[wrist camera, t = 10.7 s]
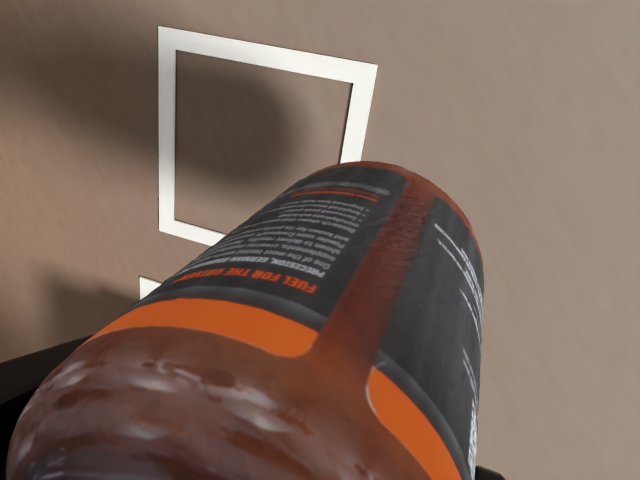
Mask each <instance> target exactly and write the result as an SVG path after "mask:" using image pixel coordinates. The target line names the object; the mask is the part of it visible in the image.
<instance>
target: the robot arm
mask: <svg viewBox="0 0 640 480" xmlns="http://www.w3.org/2000/svg"><path fill="white" fill-rule="evenodd" d="M94 335H95V334H93V335H90V336H87V337H84V338H80V339H77V340H74V341H71V342H67V343H64V344H61V345H58V346H54V347H51V348H48V349H45V350H41V351H38V352H35V353H31V354H28V355H25V356H22V357H18V358H15V359H12V360H9V361H5V362H2V363H0V480H6V463H7V456H8V450H9V443H10V440H11V437H12V435H13V432H14V429H15V426H16V424H17V421H18V419H19V417H20V415H21V413H22V411H23V409H24V408H25V406H26V405H27V403H28V402H29V401H30V399H31V398H32V396H33V394H34V393H35V391H36V390H37V389H38V388H39V386H40V385H41V383H42V382H43V381H44V379H45V378H46V377H47V376H48V375H49V374H50V373H51V372H52V371H53V370H54V369H55V368H56V367H57V366H58V365H59V364H61V363H62V362H63V361H64V360H65V359H66V358H68V357H69V356H70V355H71V354H72V353H73V352H74V351H75V350H76V349H77V348H78V347H79V346H81V345H82V344H83V343H84V342H86V341H87V340H88V339H90V338H91V337H92V336H94ZM475 480H505V478H504V477H503V476H502V475H501V474H499V473H497V472H494V471H492V470H489V469H486V468H484V467H481V466H475Z"/></svg>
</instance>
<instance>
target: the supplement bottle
mask: <svg viewBox="0 0 640 480" xmlns="http://www.w3.org/2000/svg"><path fill="white" fill-rule="evenodd" d="M483 294H484V274H483V263H482V256H481V252H480V249H479V246H478V241H477V238H476V235H475V233H474V232H473V229H472V227H471V225H470V223H469V221H468V219H467V218H466V216H465V215H464V213H463V212H462V211H461V209H460V208H459V207H458V206H457V204H456V203H455V202H454V201H453V200H452V199H451V198H450V197H449V196H448V195H447V194H446V193H445V192H443V191H442V190H441V189H440V188H438V187H437V186H436V185H434V184H433V183H432V182H430V181H429V180H427V179H425V178H423V177H422V176H420V175H418V174H416V173H414V172H412V171H410V170H408V169H405V168H403V167H400V166H397V165H392V164H387V163H381V162H371V161H354V162H346V163H341V164H336V165H333V166H329V167H326V168H323V169H321V170H318V171H316V172H314V173H312V174H311V175H309V176H307V177H306V178H304V179H302V180H300V181H298V182H297V183H295V184H294V185H292V186H291V187H289V188H288V189H287V190H286V191H285V192H283V193H282V194H281V195H279V196H278V197H277V198H275V199H274V200H273V201H271V202H270V203H268V204H267V205H266V206H264V207H263V208H262V209H261V210H259V211H258V212H257V213H255V214H254V215H253V216H251V217H250V218H249V219H248V220H247V221H245V222H244V223H242V224H241V225H239V226H238V227H237V228H236V229H234V230H233V231H231V232H230V233H229V234H228V235H226V236H224V237H223V238H222V239H221V240H220V241H218V242H217V243H216V244H214V245H213V246H211V247H210V248H209V249H207V250H206V251H204V252H203V253H202V254H201V255H199V256H198V257H197V258H196V259H195V260H193V261H191V262H190V263H189V264H188V265H186V266H185V267H184V268H183V269H181V270H180V271H179V272H177V273H176V274H175V275H174V276H172V277H170V278H168V279H167V280H165V281H164V282H163V283H162V284H161V285H160V286H159V287H157V288H156V289H154V290H153V291H152V292H150V293H149V294H148V295H147V296H145V297H144V298H142V299H141V300H139V301H138V302H136V303H134V304H133V305H132V306H131V307H130V308H128V309H127V310H126V311H125V312H124V313H123V314H121V315H120V316H119V317H118V318H117V319H116V320H114V321H113V322H112V323H110V324H109V325H108V326H106V327H105V328H103V329H102V330H100V331H99V332H98V333H96V334H95V335H94V336H92V337H91V338H90V339H88V340H87V341H86V342H84V343H83V344H82V345H81V346H79V347H78V348H77V349H76V350H75V351H74V352H73V353H72V354H71V355H70V356H69V357H68V358H66V359H65V360H64V361H63V362H62V363H61V364H59V365H58V366H57V367H56V368H55V369H54V370H53V371H52V372H51V373H50V374H49V375H48V376H47V377H46V378H45V379H44V381H43V382H42V383H41V385H40V386H39V388H38V389H37V390H36V391H35V393H34V394H33V396H32V398H31V399H30V401H29V402H28V403H27V405H26V406H25V408H24V409H23V411H22V413H21V415H20V417H19V419H18V421H17V424H16V426H15V429H14V432H13V435H12V437H11V440H10V443H9V450H8V456H7V463H6V480H475V464H476V445H477V425H478V405H479V387H480V360H481V359H480V358H481V342H482V320H483Z"/></svg>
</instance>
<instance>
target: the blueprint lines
mask: <svg viewBox="0 0 640 480" xmlns="http://www.w3.org/2000/svg"><path fill="white" fill-rule="evenodd" d="M158 50H159V231H162V232H165V233H169V234H172V235H175V236H179V237H182V238H186V239H189V240H192V241H196V242H199V243H203V244H206V245H209V246H213V245H214V244H216V243H217V242H218V241H220V240H221V239H222V238H223V237H224V236H226V234H223V233H219V232H216V231H212V230H209V229H205V228H202V227H198V226H195V225H191V224H188V223H184V222H181V221H177V220H174V180H175V90H176V50H181V51H186V52H192V53H197V54H202V55H207V56H213V57H218V58H223V59H229V60H234V61H239V62H244V63H250V64H255V65H260V66H265V67H271V68H276V69H281V70H287V71H292V72H297V73H302V74H308V75H313V76H318V77H324V78H329V79H334V80H339V81H345V82H350V83H353V89H352V95H351V102H350V108H349V114H348V120H347V126H346V132H345V138H344V144H343V150H342V156H341V162H340V164H341V163H346V162H354V161H360V160H361V155H362V149H363V144H364V139H365V133H366V128H367V122H368V117H369V111H370V106H371V100H372V95H373V89H374V84H375V79H376V73H377V68H378V65H376V64H370V63H364V62H359V61H353V60H347V59H342V58H336V57H331V56H325V55H319V54H314V53H308V52H303V51H297V50H291V49H286V48H280V47H274V46H269V45H263V44H258V43H252V42H246V41H241V40H235V39H230V38H224V37H218V36H213V35H207V34H201V33H196V32H190V31H185V30H179V29H173V28H168V27H162V26H158ZM161 284H162V283H160V282H157V281H153V280H150V279H147V278H144V277H140V300H141V299H142V298H144V297H145V296H147V295H148V294H149V293H150V292H152V291H153V290H154V289H156V288H157V287H159V286H160V285H161Z"/></svg>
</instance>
